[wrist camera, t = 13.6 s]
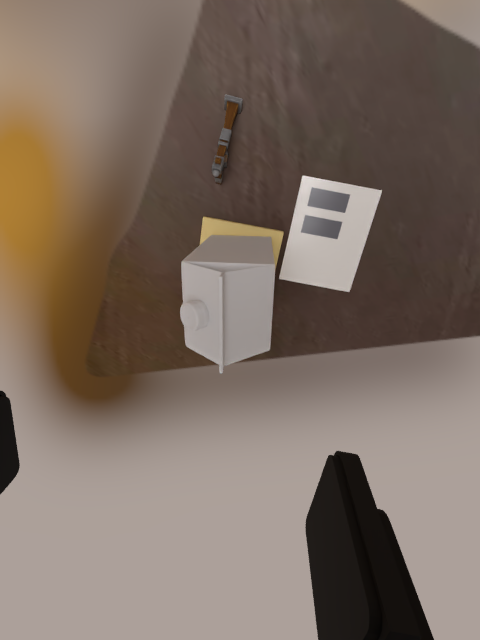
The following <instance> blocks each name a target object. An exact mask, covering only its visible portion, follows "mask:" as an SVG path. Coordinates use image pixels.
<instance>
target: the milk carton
mask: <svg viewBox="0 0 480 640" xmlns="http://www.w3.org/2000/svg"><path fill="white" fill-rule="evenodd" d="M181 272H182V293H183V304H182V306H181V308H180V316H181V320H182V323H183V325H184V332H185V344H186V346H187V347H188V348H190V349H192V350H194V351H195V352H197V353H199V354H201V355H203V356H204V357H206V358H208V359H210V360H211V361H213V362H215V363H217V364H219V367H220V368H219V369H220V374H222V373H223V369H224V366H226V365H229V364H232V363H235V362H238V361H240V360H243V359H246V358H249V357H252V356H255V355H257V354H260V353H263V352H266V351H269V350H270V344H271V328H272V312H273V296H274V280H275V262H274V255H273V247H272V240H271V237H266V236H232V235H211V236H210V237H208V238H207V239H206V240H205V241H204V242H203V243H202V244H201V245H199V246H198V247H197V248H196V249H195V250H194V251H193V252H192V253H190V254H189V255H188V256H187V257H186V258H185V259H184V260H183V261H182V263H181Z"/></svg>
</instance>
